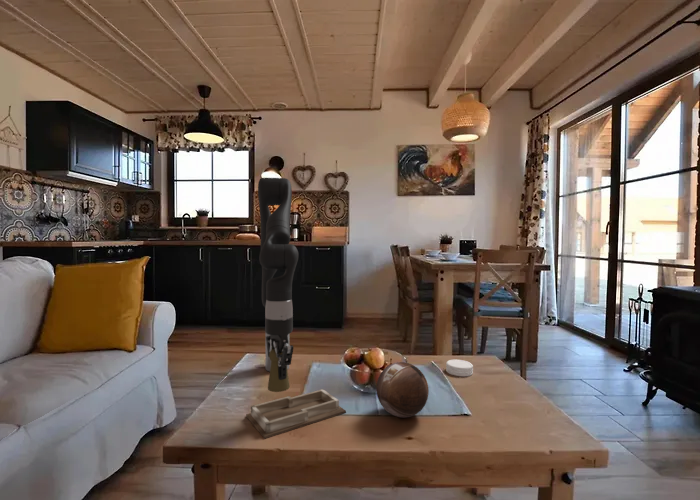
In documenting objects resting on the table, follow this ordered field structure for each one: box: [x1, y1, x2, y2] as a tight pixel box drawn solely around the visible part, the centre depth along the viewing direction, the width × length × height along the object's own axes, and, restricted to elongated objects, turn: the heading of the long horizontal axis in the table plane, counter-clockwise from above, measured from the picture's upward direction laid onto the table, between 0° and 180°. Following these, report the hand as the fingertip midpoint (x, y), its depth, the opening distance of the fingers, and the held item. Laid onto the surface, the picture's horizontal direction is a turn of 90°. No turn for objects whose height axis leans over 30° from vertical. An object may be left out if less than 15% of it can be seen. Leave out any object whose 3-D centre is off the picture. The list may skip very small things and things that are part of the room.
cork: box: [267, 349, 290, 393], centre depth 102 cm, size 6×6×11 cm
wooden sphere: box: [376, 361, 430, 418], centre depth 106 cm, size 15×15×15 cm
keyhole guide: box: [246, 388, 347, 440], centre depth 105 cm, size 14×25×3 cm, turn 125°
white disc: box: [445, 359, 474, 377], centre depth 141 cm, size 10×10×4 cm
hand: (279, 376), depth 102 cm, fingers closed on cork, 4 cm apart
